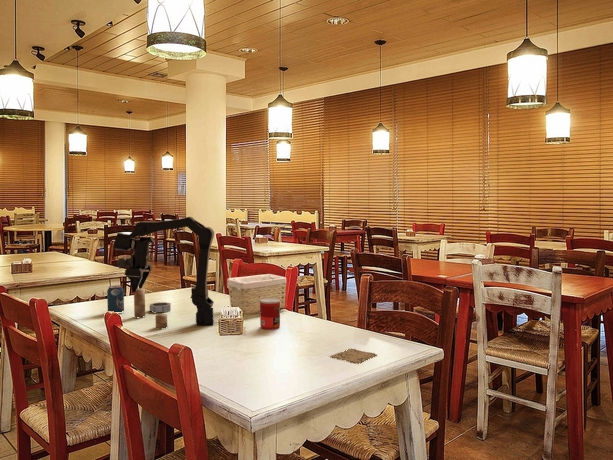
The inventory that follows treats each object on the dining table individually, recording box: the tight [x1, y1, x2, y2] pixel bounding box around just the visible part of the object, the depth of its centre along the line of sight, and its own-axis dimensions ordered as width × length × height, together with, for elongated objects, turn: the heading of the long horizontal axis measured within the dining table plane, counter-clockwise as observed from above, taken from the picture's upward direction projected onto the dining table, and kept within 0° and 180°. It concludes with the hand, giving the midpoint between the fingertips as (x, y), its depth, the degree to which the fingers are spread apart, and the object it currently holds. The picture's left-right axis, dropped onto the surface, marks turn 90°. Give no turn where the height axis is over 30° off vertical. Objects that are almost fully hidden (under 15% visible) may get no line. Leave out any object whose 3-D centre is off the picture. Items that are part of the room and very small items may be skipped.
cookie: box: [329, 348, 378, 365], centre depth 173 cm, size 12×12×1 cm
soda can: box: [106, 284, 125, 312], centre depth 235 cm, size 7×7×12 cm
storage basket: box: [226, 273, 288, 315], centre depth 244 cm, size 24×16×15 cm
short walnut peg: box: [155, 313, 168, 329], centre depth 209 cm, size 4×4×5 cm
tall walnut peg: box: [133, 288, 146, 318], centre depth 227 cm, size 4×4×12 cm
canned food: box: [259, 298, 281, 331], centre depth 210 cm, size 8×8×11 cm
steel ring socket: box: [149, 301, 172, 313], centre depth 240 cm, size 9×9×3 cm
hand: (137, 290), depth 214 cm, fingers open, 9 cm apart
